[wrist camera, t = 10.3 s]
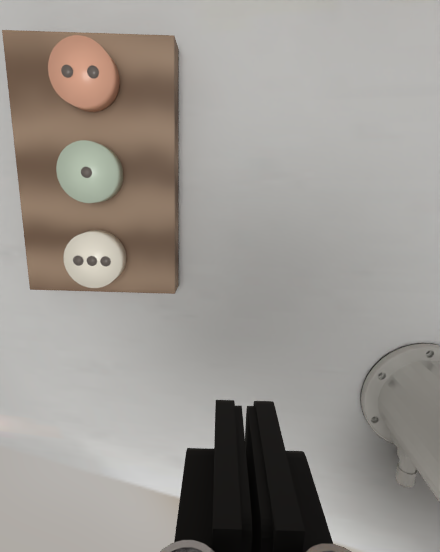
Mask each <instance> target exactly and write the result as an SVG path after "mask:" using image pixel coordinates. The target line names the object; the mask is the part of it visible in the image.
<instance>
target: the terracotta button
mask: <svg viewBox="0 0 440 552" xmlns="http://www.w3.org/2000/svg"><path fill="white" fill-rule="evenodd" d="M48 74H49V78H50V81H51V84H52V86H53V88H54V90H55V91H56V93H57V94H58V95H59V96H60V97H61V98H62V99H63V100H65V101H66V102H68V103H70V104H72V105H73V106H75V107H77V108H79V109H81V110H84V111H87V112H97V111H101V110H103V109H105V108H107V107H108V106H109V105H111V104H112V102H113V101H114V100H115V98H116V96H117V94H118V91H119V86H120V78H119V72H118V69H117V66H116V64H115V63H114V61H113V59H112V58H111V57H110V56H109V55H108V53H107V52H106V51H105V50H104V49H103V47H102V46H101V45H100V44H99V43H97V42H96V41H94V40H93V39H91V38H89V37H86V36H81V35H73V36H69V37H66V38H64V39H62V40H61V41H60V42H58V43H57V44H56V46H55V47H54V48H53V50H52V52H51V54H50V57H49V61H48Z"/></svg>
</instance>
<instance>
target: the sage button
mask: <svg viewBox="0 0 440 552" xmlns="http://www.w3.org/2000/svg"><path fill="white" fill-rule="evenodd" d="M56 172H57V177H58V181H59V183H60V185H61V187H62V188H63V190H64V191H65V192H66V193H67V194H68V195H69V196H70V197H72V198H73V199H75V200H77V201H80V202H84V203H96V202H103V201H106V200H109V199H111V198H112V197H113V196H115V195H116V194H117V192H118V191H119V189H120V187H121V185H122V182H123V169H122V165H121V162H120V160H119V159H118V157H117V156H116V154H115V153H114V152H113V151H112V150H110V149H109V148H107V147H106V146H103V145H101V144H98V143H95V142H92V141H87V140H80V141H76V142H73V143H71V144H69V145H68V146H66V147H65V148H64V149H63V151H62V152H61V153H60V155H59V158H58V160H57V166H56Z"/></svg>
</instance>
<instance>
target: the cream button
mask: <svg viewBox="0 0 440 552" xmlns="http://www.w3.org/2000/svg"><path fill="white" fill-rule="evenodd" d="M64 265H65V268H66V270H67V272H68V274H69V275H70V277H71V278H72V279H73V280H74V281H76V282H77V283H79V284H80V285H82V286H85V287H89V288H100V287H104V286H106V285H108V284H110V283H111V282H112V281H113V280H115V279H116V278H117V277H118V276H119V275H120V274H121V273H122V271H123V270H124V268H125V265H126V252H125V249H124V246H123V245H122V243H121V242H120V240H119V239H118V238H117V237H116V236H114V235H113V234H111V233H109V232H107V231H103V230H91V231H88V232H85V233H82V234H79V235H77V236H75V237H74V238H73V239H71V240H70V242H69V243H68V244H67V246H66V248H65V251H64Z"/></svg>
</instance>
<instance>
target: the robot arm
mask: <svg viewBox="0 0 440 552" xmlns="http://www.w3.org/2000/svg"><path fill="white" fill-rule="evenodd" d="M361 405H362V411H363V414H364V416H365V418H366V420H367V422H368V423H369V425H370V426H371V428H372V429H373V430H374V431H375V432H376V434H377V435H379V436H380V437H381V438H383V439H384V440H386V441H388V442H390V443H392V444H395V445H396V447H397V448H398V449H397V455H398V457H399V458H400V459H399V463H398V465H397V471H396V477H395V479H396V481H397V482H398V483H399V484H400V485H402V486H404V487H408V488H411V487H413V486H414V483H415V478H416V473H417V470H418V472H419V473H420V475H421V476H422V478H423V479H424V480H425V482H426V483H427V485H428V486H429V488H430V489H431V491H432V492H433V494H434V495H435V496H436V498H437V499H438V501H439V502H440V346H439V345H435V344H414V345H410V346H406V347H402V348H400V349H398V350H396V351H394V352H391V353H390V354H388V355H387V356H385V357H384V358H383V359H381V360H380V361H379V362H378V363H377V364H376V365H375V366H374V367H373V369H372V370H371V372H370V373H369V374H368V376H367V378H366V380H365V382H364V385H363V389H362V393H361ZM416 469H417V470H416ZM160 552H351V551H349V550H348V549H346V548H344V547H341V546H338V545H335V544H333V542H332V539H331V535H330V532H329V529H328V526H327V523H326V519H325V516H324V513H323V510H322V507H321V503H320V500H319V497H318V494H317V491H316V487H315V484H314V481H313V478H312V475H311V471H310V468H309V465H308V462H307V459H306V456H305V454H304V452H303V451H285V447H284V443H283V439H282V435H281V431H280V426H279V422H278V418H277V414H276V410H275V406H274V402H271V401H254V406H247V413H246V431H245V437H244V427H243V416H242V406H235V403H234V400H216V413H215V448H214V449H198V448H187V451H186V458H185V466H184V473H183V481H182V488H181V496H180V504H179V511H178V519H177V526H176V534H175V542H174V543H172V544H170V545H168V546H167V547H165V548H164V549H162V550H161V551H160Z"/></svg>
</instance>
